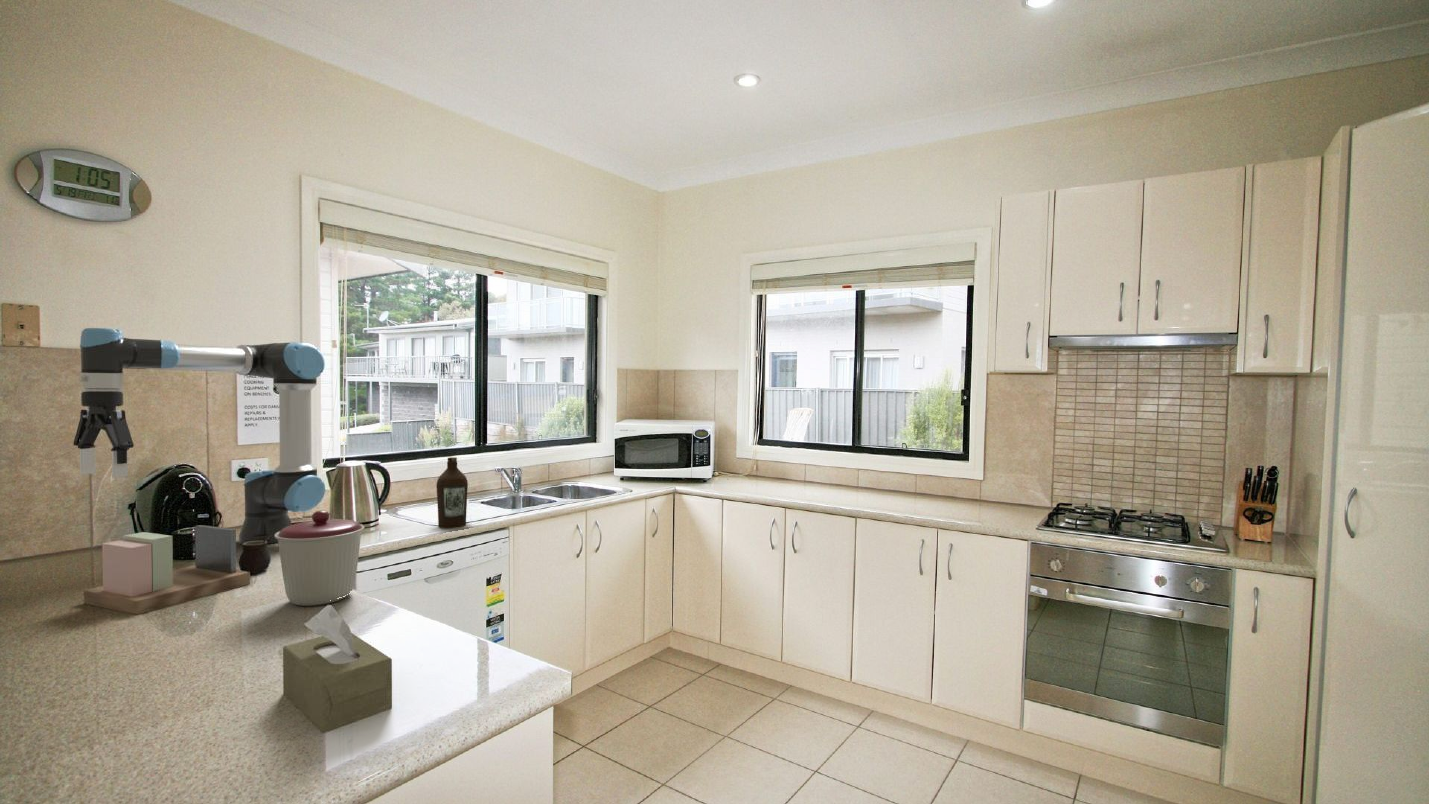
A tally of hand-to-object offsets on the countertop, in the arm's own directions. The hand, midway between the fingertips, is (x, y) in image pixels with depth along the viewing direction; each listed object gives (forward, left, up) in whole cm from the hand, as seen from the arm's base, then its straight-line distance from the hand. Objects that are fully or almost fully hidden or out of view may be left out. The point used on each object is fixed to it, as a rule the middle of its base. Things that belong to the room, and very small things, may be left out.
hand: (103, 475), depth 159 cm
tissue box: (+21, +107, -28) cm, 112 cm away
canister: (-13, +58, -28) cm, 66 cm away
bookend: (-13, +21, -25) cm, 35 cm away
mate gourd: (-23, +21, -28) cm, 42 cm away
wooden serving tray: (-3, +21, -28) cm, 35 cm away
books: (+4, +21, -25) cm, 33 cm away
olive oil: (-89, +27, -28) cm, 97 cm away
